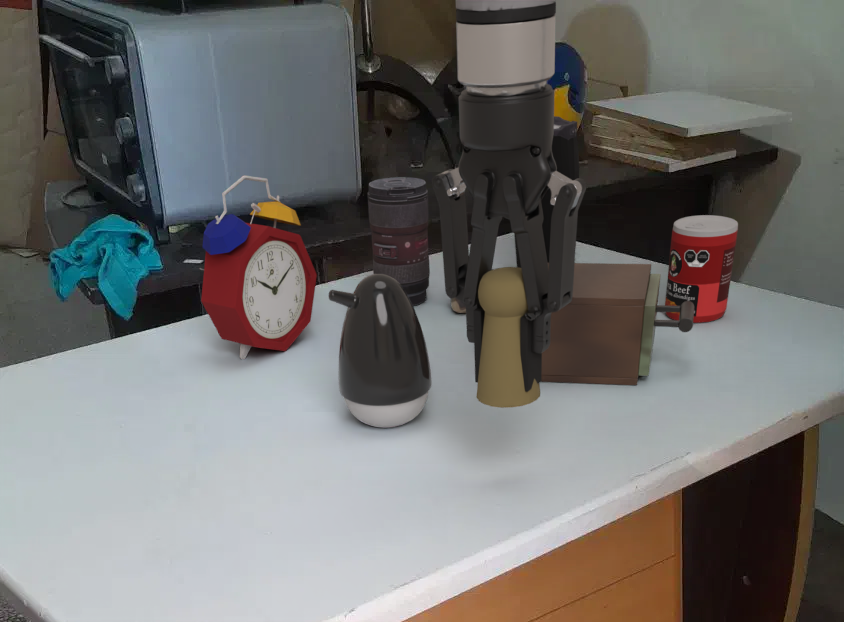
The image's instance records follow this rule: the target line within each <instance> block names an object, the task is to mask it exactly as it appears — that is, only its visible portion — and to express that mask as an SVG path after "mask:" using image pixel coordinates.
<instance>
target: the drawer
mask: <svg viewBox="0 0 844 622" xmlns="http://www.w3.org/2000/svg"><path fill="white" fill-rule="evenodd" d="M660 285H661V273H650V279H649V284H648V289H647V295H646V300H645V305H644V316H643V327H642V338H641V349H640V360H639V371H638V375H639V376H643V377H644V376H645V377H649V375H650V370H651V363H652V357H653V350H654V344H655V335H656V328H657V327H658V328H659V327H661V328H678V329H679V331H680V332H682V333H688V332H690V331H691V330H692V329H693V327H694V323H693V318H694V304H693V303H692V302H691V301H685V302H683V303H682V305H681V307H680V306H669V305H665V304H661V305H660V304H659V295H660ZM666 312H680V315H679V320H674V319H657V316H658V315H657V314H658V313H666ZM639 376H638V377H639Z"/></svg>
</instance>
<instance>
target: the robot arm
mask: <svg viewBox="0 0 844 622" xmlns="http://www.w3.org/2000/svg"><path fill="white" fill-rule="evenodd" d="M556 1H557V0H455V11H456V12H455V16H456V17H455V20H456V22H455V27H456V30H455V33H456V65H457V66H456V67H457V71H456V72H457V81H458V82H459V84H460V85H463V86H464V87H465V89H463V90H462V91H460V95H459V96H458V122H459V123H458V124H459V140H460V142H461V144H462V153H461V156H460V158H459V161H458V166H457V167H456V168H450V169H447V170H445V171H443V172H440V173H438V174H436V175H434V176H433V177H432V179H431V186H432V187H431V188H433V189H432V190H433V193H434V195H435V198H436V202H437V204H438V207H439V208H438V209H439V220H440V234H441V235H440V236H441V247H442V249H441V250H442V262H443V275H444V289H445V290H444V291H445V294H446V296H447V297H448V299H451V298H457V299H458V300H460V301H462V302H463V303H464V305H465V307H466V313H465V319H466V320H465V322H466V339H467V341H468V343H472V344H473V345H474V346H473V349H474V351H473V352H474V382H475V383H476V384H478V375H479V366H480V356H481V346H482V336H483V326H484V317H485V311H484V309H483V308H482V307H481V305H480V302H479V298H478V289H479V284H480V280H481V279H482V277H483V275H484V274H486V273H487V272H488V271H491V270H492V269H493V264H494V259H495V253H496V246H497V239H498V233H499V227H500V223H501V221H502V220H503V218H504V219H507V220H509V223H510V228H511V229H510V230H511V232H512V233H513V235H514V234H515V235H516V240H517V246H518V251H519V257H520V263H521V269H522V275H523V281H524V287H525V293H526V299H527V305H528V312H527V313H525V315H523V316H522V317H520V355H521V363H522V372H523V380H524V388H525V391H526V392H528V391H529V390H531V388H532V385H533V382H534V378H535V380H536V382H537V384H539V385H540V383H542V382H541V377H542V352H544V351H545V350H546V349H548V347H549V345H550V331H551V313H552V312H557V311H559V310H560V309H562V308H563V307H564V306H566V305H567V304H569V303H570V302H571V301H572V296H573V280H574V264H575V263H576V262H575V261H576V249H577V248H576V247H577V233H578V218H579V217H578V215H579V209H580V207H581V204H582V201H583V198H584V196H585V193H586V191H587V183H586V181H585V180H584V179H583V178H581V177H579V178H578V179H575V180H571V179H570V178H568V177H566V176H564V175H563V174H561V173H559V172H558V171H557V166H556V163H555V160H554V158H553V154H552V140H553V134H554V116H555V89H553V87H552V85H551V84H549V83H548V82H547V81H549V80H550V79H552V78H553V76H554V75H555V74H556V73H555V70H556V65H555V63H556V17H557V16H556V13H557V2H556ZM549 188H550V190H551V199H550V203H551V204H552V205H554V208H553V212H552V217H551V232H550V253H549V269H548V262H547V256H546V249H545V243H544V237H543V230H542V223H543V219H544V218H543V210H542V204H541V200H542V198H543V197H544V195H545V193H546V192H547V190H548V189H549ZM466 189H467V191H468V193H469V194H470V196H471V198H472V200H473V204H472V210H471V212H472V213H471V219H470V225H471V227H472V231H471V239H470V244H469V234H468V233H469V231H468V216H467V202H466V196H465V192H466ZM469 245H470V247H469Z"/></svg>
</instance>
